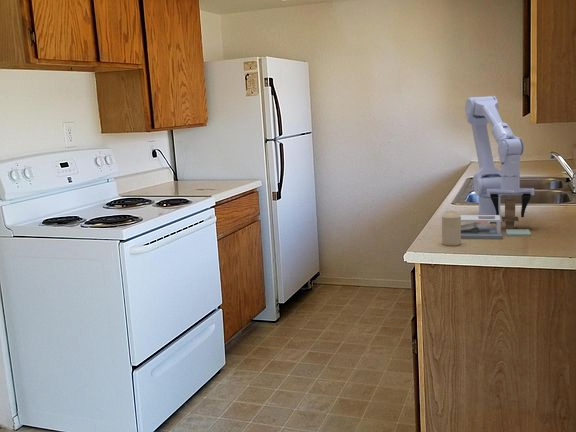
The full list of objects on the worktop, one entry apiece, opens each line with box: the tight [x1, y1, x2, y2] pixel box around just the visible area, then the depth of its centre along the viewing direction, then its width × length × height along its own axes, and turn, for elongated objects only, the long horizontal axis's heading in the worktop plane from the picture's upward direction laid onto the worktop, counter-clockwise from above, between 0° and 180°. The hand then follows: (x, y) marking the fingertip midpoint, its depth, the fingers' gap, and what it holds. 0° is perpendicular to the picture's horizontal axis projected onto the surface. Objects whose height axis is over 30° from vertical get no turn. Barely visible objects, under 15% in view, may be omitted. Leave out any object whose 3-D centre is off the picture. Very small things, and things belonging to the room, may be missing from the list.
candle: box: [441, 210, 462, 247], centre depth 184 cm, size 6×6×10 cm
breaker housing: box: [459, 214, 504, 240], centre depth 196 cm, size 14×16×5 cm
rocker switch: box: [461, 222, 491, 230], centre depth 195 cm, size 4×9×1 cm, turn 73°
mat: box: [505, 228, 532, 237], centre depth 193 cm, size 7×7×1 cm
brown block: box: [501, 198, 519, 230], centre depth 200 cm, size 5×5×10 cm
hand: (509, 216), depth 200 cm, fingers open, 7 cm apart
